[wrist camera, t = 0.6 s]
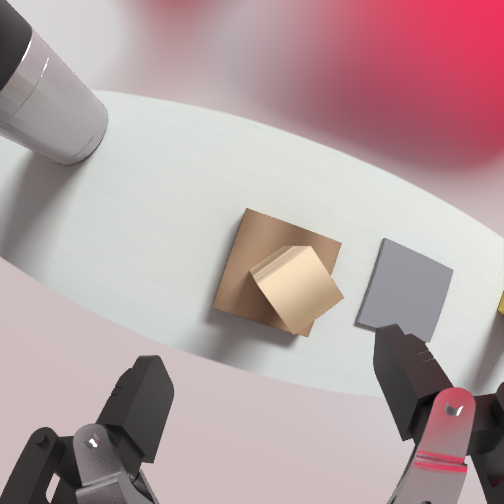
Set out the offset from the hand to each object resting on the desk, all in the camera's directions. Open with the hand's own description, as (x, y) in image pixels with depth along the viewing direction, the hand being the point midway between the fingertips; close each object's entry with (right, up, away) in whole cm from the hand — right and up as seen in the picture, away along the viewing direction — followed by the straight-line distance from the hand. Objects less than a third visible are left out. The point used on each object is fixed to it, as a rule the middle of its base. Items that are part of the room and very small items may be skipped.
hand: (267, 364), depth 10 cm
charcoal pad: (+19, -1, +21) cm, 28 cm away
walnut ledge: (+2, +2, +20) cm, 20 cm away
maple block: (+2, +2, +18) cm, 18 cm away
